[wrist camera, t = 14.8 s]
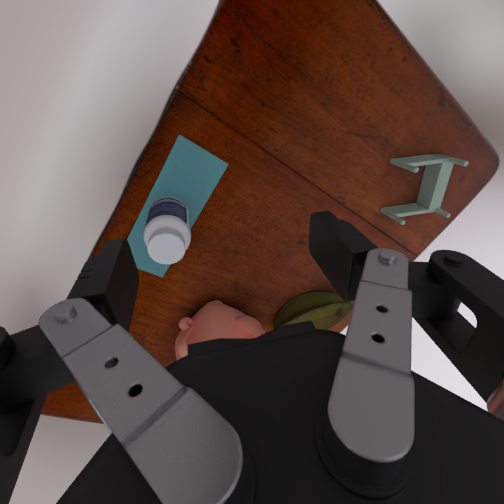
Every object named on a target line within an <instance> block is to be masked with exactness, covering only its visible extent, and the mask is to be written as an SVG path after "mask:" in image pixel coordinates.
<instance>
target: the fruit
mask: <svg viewBox="0 0 504 504" xmlns="http://www.w3.org/2000/svg"><path fill="white" fill-rule="evenodd" d="M352 307H353V305H352V304H351V303H350V302H349V301H348V302H344V301H343V299H342V298H341V297H340V296H339V295H337V294H333V293H328V292H319V291H316V292H309V293H305V294H302V295H299V296H297V297H295V298H293V299H292V300H290V301H289V302H287V303H286V304H285V305H284V306H283V308H282V309H281V310H280V312H279V313H278V315H277V317H276V319H275V322H274V329H276V328H278V327H281V326H284V325H289V324H294V323H299V322H304V321H309V320H312V322H313V324H314V326H315V328H316V329H322V330H326V329H328V328H330V327H331V326H333V325H335V324H336V323H338V322H339V321H340V320H342V319H343V318H344V317H345V316H346V314H347V313H348V312H349V310H350V309H351V308H352Z"/></svg>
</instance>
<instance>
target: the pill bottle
mask: <svg viewBox="0 0 504 504" xmlns="http://www.w3.org/2000/svg"><path fill="white" fill-rule="evenodd" d="M190 241H191V228H190V214H189V210H188V208H187V206H186V205H185V204H184V203H183V202H182V201H181V200H179V199H177V198H175V197H170V196H167V197H161V198H159V199H157V200H156V201H155V202H154V203H153V204H152V205H151V207H150V209H149V213H148V217H147V221H146V225H145V229H144V242H145V244H146V246H147V247H148V248H147V249H148V253H149V255H150V257H151V258H152V259H153V260H154V261H156V262H158V263H160V264H173V263H176V262H178V261H179V260H180V259H181V258H182V257H183V256H184V253H185V250H186V249H187V248H188V246H189V244H190Z"/></svg>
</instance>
